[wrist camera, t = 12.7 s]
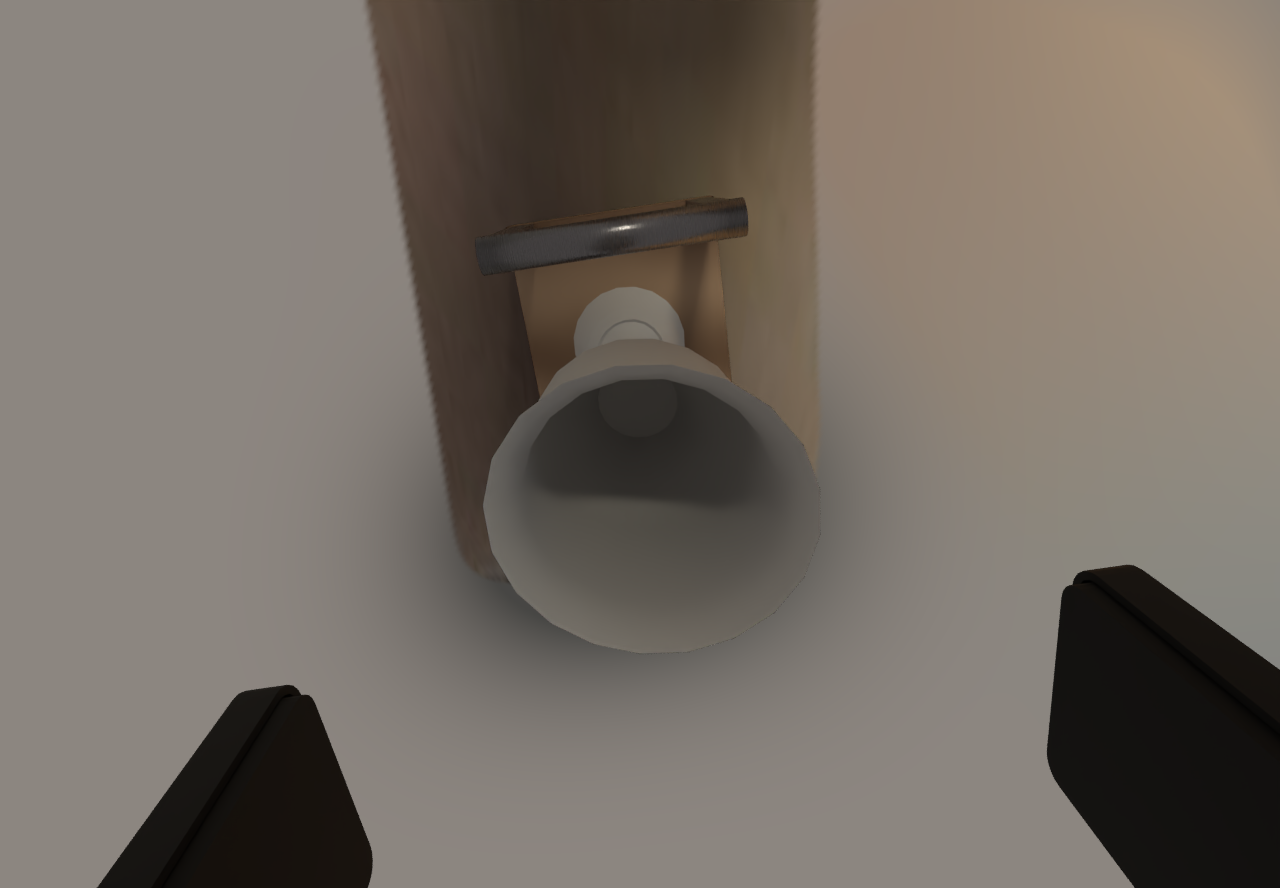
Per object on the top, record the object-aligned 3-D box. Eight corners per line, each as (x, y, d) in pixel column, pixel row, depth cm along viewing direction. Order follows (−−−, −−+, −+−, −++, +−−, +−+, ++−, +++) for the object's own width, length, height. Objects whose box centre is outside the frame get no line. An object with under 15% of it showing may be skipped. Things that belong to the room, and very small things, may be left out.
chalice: (527, 378, 32) (438, 591, 15) (583, 238, 30) (552, 304, 13) (670, 436, 33) (736, 692, 16) (734, 306, 31) (881, 445, 14)
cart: (516, 220, 33) (466, 239, 22) (701, 192, 33) (752, 196, 21) (562, 452, 38) (540, 573, 26) (725, 427, 37) (779, 538, 26)
